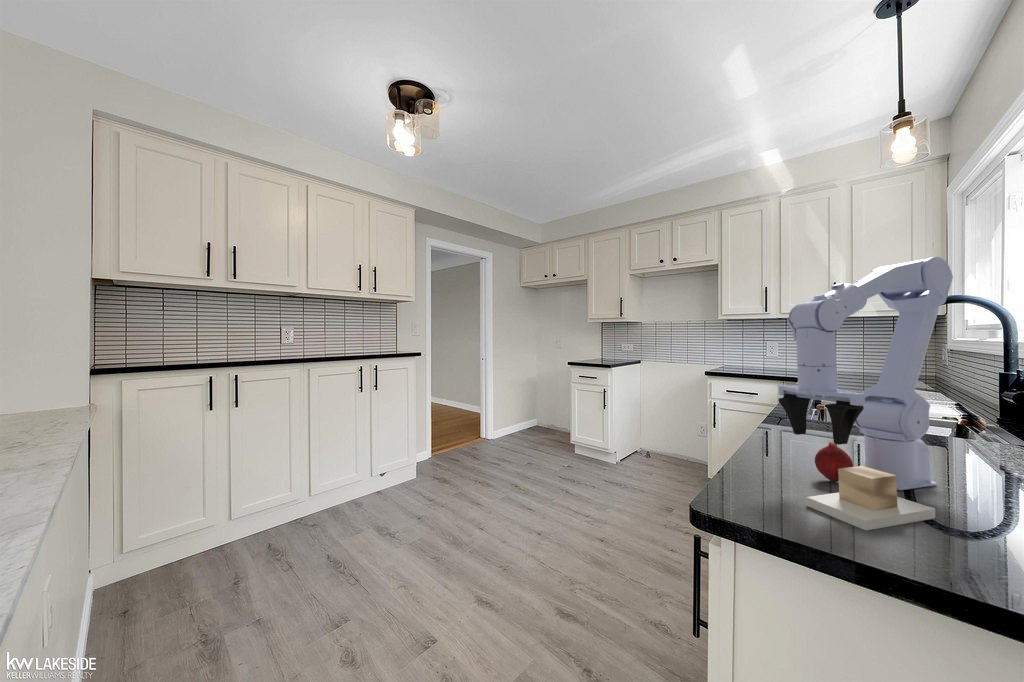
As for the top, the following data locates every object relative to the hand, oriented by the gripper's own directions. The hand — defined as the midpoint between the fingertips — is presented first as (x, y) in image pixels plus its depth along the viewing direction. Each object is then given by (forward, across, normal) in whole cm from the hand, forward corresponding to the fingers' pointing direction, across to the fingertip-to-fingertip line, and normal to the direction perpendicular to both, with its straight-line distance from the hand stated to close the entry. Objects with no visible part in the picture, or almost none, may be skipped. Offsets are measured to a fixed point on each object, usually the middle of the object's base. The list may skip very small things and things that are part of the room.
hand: (819, 438), depth 71 cm
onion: (+10, -3, +7) cm, 13 cm away
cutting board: (+10, +8, -1) cm, 13 cm away
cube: (+8, +8, -1) cm, 12 cm away
